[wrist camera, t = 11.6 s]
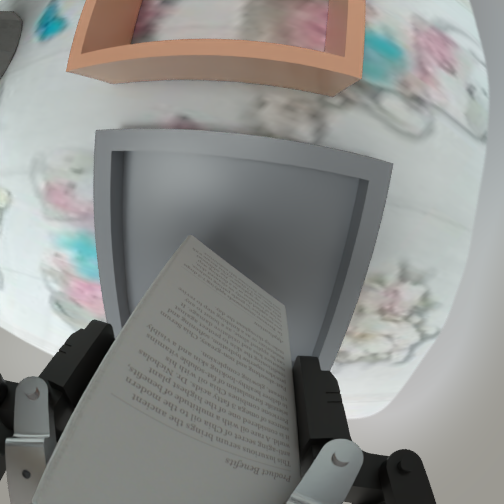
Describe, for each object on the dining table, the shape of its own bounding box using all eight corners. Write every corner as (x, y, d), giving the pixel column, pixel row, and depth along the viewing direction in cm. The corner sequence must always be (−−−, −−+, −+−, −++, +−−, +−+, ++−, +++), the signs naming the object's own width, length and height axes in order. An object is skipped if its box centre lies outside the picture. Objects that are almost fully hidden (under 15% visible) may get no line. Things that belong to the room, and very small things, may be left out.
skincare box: (147, 290, 14) (26, 498, 3) (191, 230, 12) (22, 504, 1) (237, 352, 15) (211, 565, 4) (290, 306, 14) (314, 568, 3)
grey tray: (116, 130, 14) (95, 130, 12) (375, 160, 15) (393, 163, 12) (126, 336, 21) (114, 355, 18) (318, 365, 21) (322, 387, 18)
